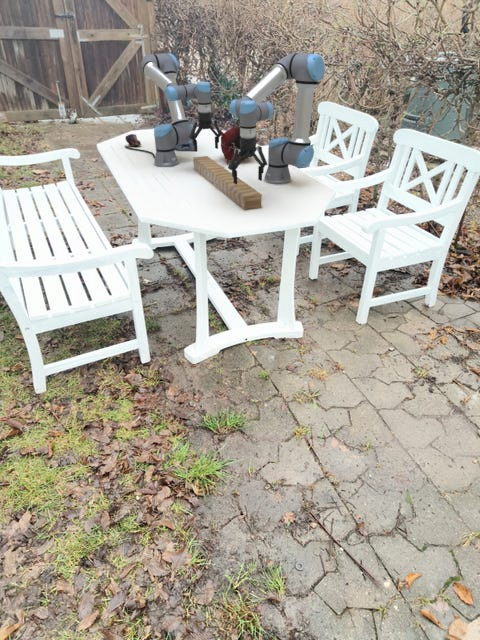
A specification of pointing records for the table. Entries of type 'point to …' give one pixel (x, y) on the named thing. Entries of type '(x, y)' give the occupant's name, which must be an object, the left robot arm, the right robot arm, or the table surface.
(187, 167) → the table surface
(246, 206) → the long beam
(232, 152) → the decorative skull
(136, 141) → the rock
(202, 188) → the table surface
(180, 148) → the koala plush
